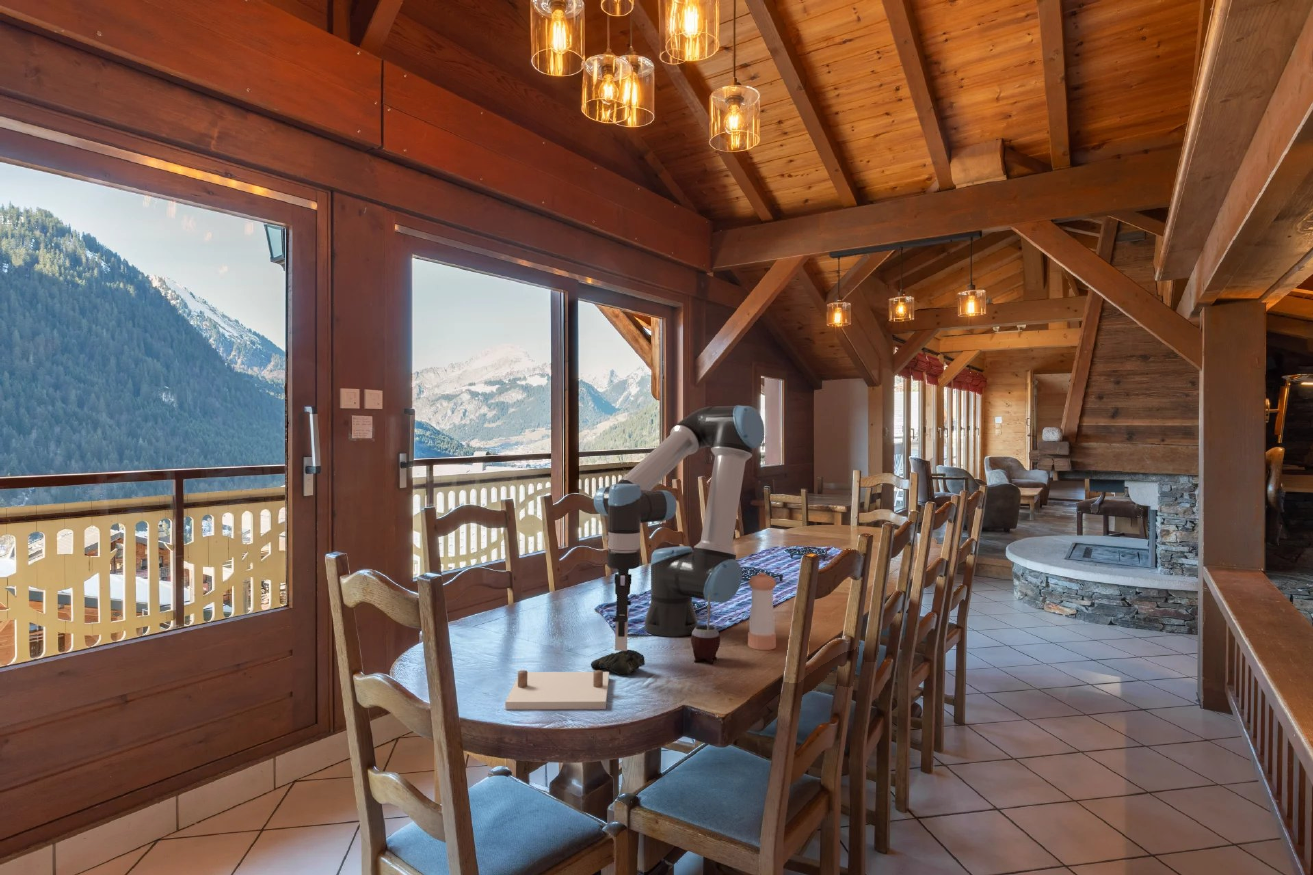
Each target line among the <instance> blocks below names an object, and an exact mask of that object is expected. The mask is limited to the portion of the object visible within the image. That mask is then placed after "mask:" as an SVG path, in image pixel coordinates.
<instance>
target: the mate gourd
mask: <svg viewBox="0 0 1313 875" xmlns="http://www.w3.org/2000/svg"><path fill="white" fill-rule="evenodd" d="M710 599H711V594H709V596H708V601H707V606H706V607H707V623H706V624H702V625H701V624H700V625H698V626H696V627H695V628H694V630H693V632H692V634H690V635H691V636H690V644H691V647H692V652H693V656H694V659H693V663H695V664H697V663H702V662H705V663H706V664H709V665H710V666H711V665H714V661H715V660H717V658H718V657H717V656H716V655H717V653H718V651H719V648H720V645H721V636H720V633H719V631H718V629H717V627H715V626H713V625H710V618H711V616H710V615H711V607H712V606H711V602H710Z"/></svg>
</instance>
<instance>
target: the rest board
mask: <svg viewBox="0 0 1313 875" xmlns="http://www.w3.org/2000/svg"><path fill="white" fill-rule="evenodd" d="M609 684H610V672H609V671H603V670H602V669H601V670H600V669H595V670H594V671H528V670H519V671H518V672H517V677H516V679H515V682H514V683H513V686H512V687H511V689H510V692H509V694H508V696H507V698H506V700H505V703H504V705H505V708H504V709H505V710H606V708H607V702H608V692H609Z"/></svg>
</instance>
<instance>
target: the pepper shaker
mask: <svg viewBox="0 0 1313 875" xmlns="http://www.w3.org/2000/svg"><path fill="white" fill-rule="evenodd" d="M748 585H749V587H750V588H751V607H750V612H749V622H748V624H749V626H748V627H749V630H748V632H747V647H749V648H751V649H754V650H758V651H769V650H770V651H771V650H773V649H775V648H776V647H777V633H776V630H775V628H776V618H775V611H774V609H775V608H774V602H773V601H774V589H775V588H776V585H777V582H776V579H775V578H774V577H772V576H771V575H768V574H766V573H765V572H761V571H760V572H759V574H755V575H753V576H751V578H750V579H749V581H748Z"/></svg>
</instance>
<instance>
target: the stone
mask: <svg viewBox="0 0 1313 875" xmlns="http://www.w3.org/2000/svg"><path fill="white" fill-rule="evenodd" d="M645 664H646V662H645V656H644V655H643V654H642V653H640V652H638V651H637V650H633V649H627V651H617V652H611V653H610V654H606V655H604V656H602V657H599V658H596V659H595V660H592V661H591V663H590V668H591V669H595V670H600V669H606V670H607V669H608V670H610V671H612V672H613V673H615V674H617V675H619V676H623V677H624V676H626V677H628V676H630V674H631V672H635V671H636V670H638V669H640V668H641V667H643V666H645Z"/></svg>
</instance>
